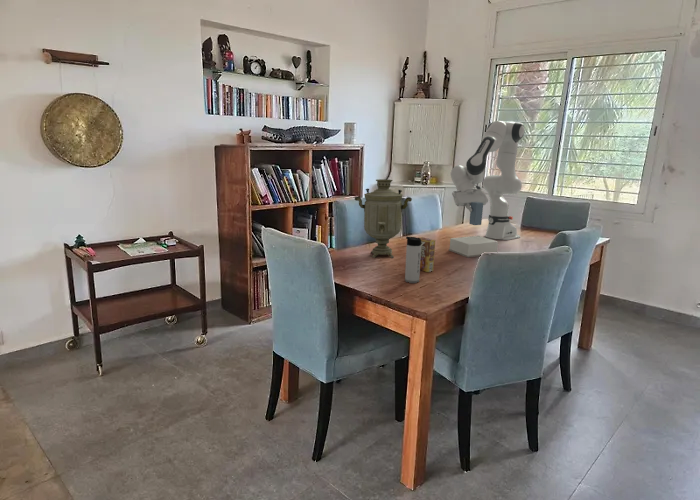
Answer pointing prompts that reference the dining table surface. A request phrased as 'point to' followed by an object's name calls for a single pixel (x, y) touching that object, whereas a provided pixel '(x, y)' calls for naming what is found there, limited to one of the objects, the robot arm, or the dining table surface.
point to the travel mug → (413, 259)
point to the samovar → (382, 215)
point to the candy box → (427, 254)
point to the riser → (472, 245)
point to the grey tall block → (476, 213)
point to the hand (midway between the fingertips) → (476, 211)
